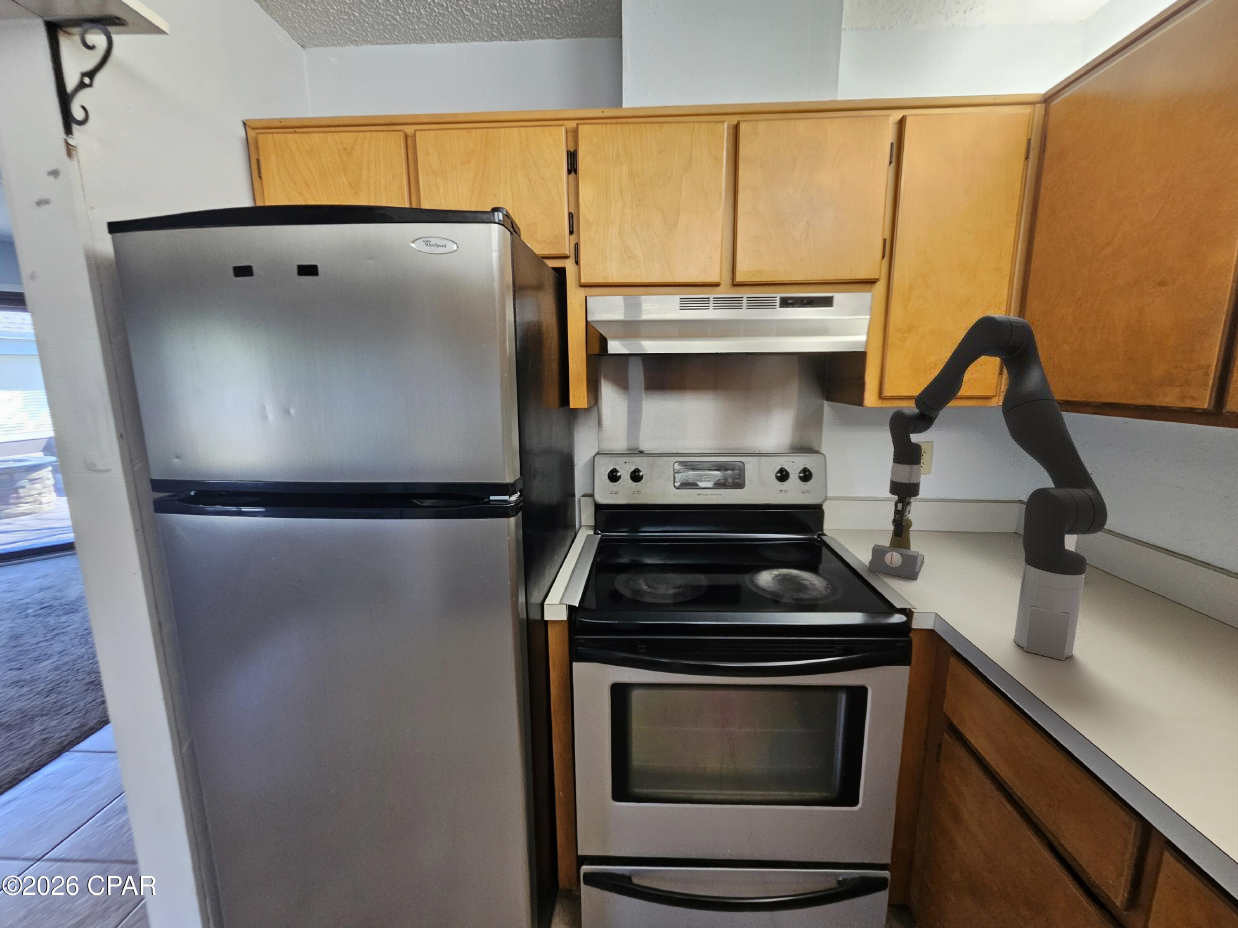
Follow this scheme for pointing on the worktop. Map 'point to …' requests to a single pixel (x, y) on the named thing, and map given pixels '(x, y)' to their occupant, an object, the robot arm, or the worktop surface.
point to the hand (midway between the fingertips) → (900, 533)
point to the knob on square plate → (896, 561)
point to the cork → (905, 540)
